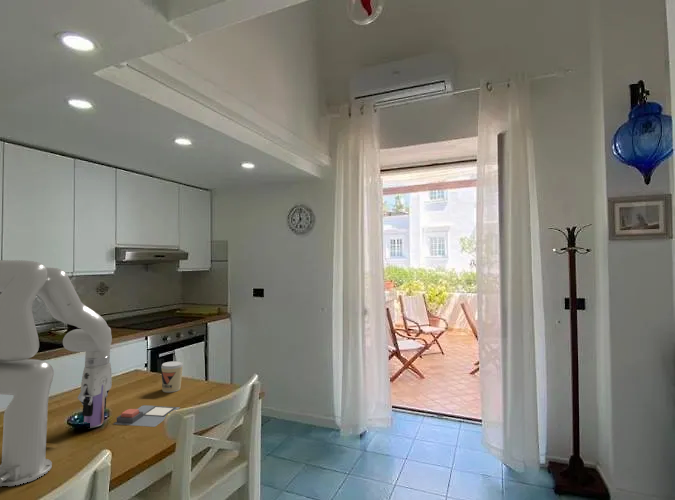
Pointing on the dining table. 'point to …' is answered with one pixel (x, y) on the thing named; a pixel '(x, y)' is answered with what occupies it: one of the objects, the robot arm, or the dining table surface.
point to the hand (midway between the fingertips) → (94, 411)
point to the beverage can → (97, 409)
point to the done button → (130, 413)
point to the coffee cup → (171, 376)
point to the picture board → (147, 416)
